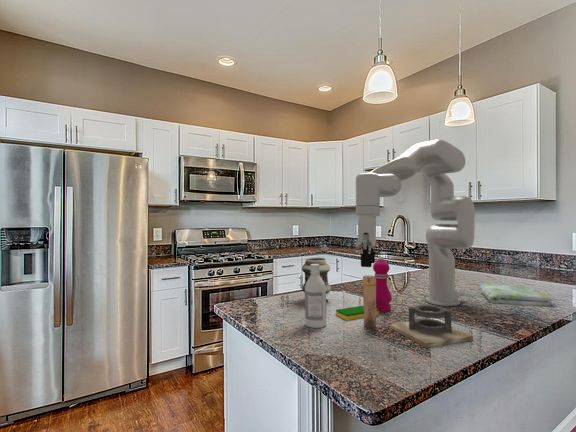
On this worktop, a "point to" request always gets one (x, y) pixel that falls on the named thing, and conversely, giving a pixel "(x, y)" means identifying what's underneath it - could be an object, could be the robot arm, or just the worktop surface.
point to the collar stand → (431, 327)
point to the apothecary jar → (323, 271)
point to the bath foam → (315, 299)
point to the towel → (514, 294)
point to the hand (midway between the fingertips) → (368, 264)
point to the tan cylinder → (369, 301)
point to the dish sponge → (352, 313)
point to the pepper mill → (382, 285)
